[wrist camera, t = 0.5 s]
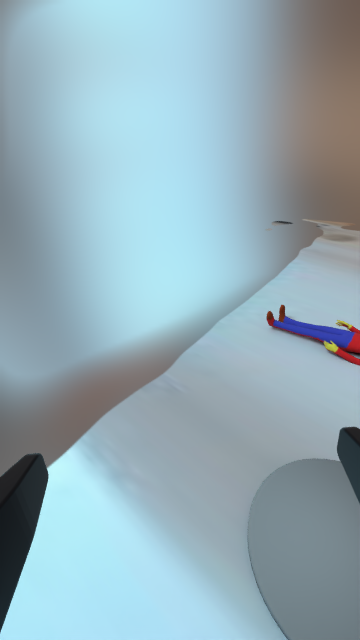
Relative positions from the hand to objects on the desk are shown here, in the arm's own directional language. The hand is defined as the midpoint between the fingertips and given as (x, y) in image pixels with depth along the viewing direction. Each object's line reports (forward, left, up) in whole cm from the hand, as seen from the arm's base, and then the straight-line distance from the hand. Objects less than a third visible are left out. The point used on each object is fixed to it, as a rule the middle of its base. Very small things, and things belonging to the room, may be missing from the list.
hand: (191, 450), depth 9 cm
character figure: (+20, -25, -17) cm, 36 cm away
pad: (+1, -10, -16) cm, 19 cm away
